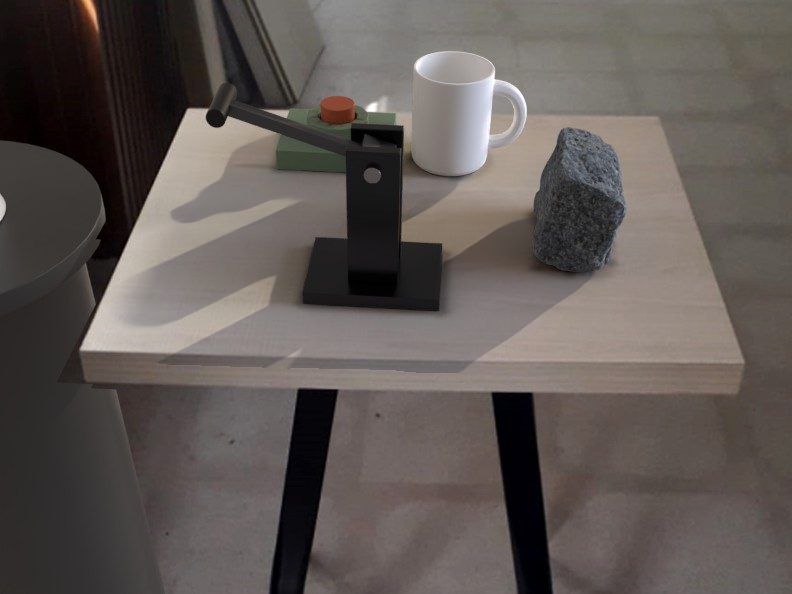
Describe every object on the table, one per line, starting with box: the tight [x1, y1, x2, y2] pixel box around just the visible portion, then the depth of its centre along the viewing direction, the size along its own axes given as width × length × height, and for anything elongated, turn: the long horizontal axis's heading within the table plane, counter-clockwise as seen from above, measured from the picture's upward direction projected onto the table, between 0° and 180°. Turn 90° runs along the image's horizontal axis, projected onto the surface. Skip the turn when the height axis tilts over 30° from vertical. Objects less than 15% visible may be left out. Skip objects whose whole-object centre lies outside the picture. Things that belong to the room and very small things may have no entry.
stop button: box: [319, 95, 355, 125], centre depth 102 cm, size 4×4×2 cm
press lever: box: [205, 82, 397, 156], centre depth 78 cm, size 15×5×2 cm, turn 86°
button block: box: [275, 104, 397, 173], centre depth 104 cm, size 12×10×4 cm
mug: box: [410, 50, 528, 177], centre depth 100 cm, size 12×8×10 cm
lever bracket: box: [301, 123, 444, 312], centre depth 82 cm, size 12×9×14 cm
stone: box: [532, 126, 628, 273], centre depth 89 cm, size 12×8×10 cm, turn 0°
